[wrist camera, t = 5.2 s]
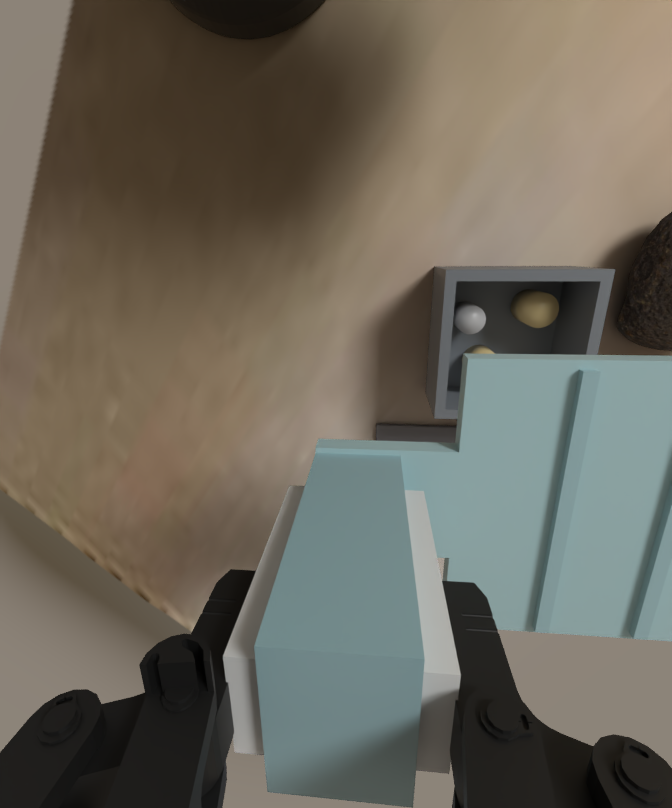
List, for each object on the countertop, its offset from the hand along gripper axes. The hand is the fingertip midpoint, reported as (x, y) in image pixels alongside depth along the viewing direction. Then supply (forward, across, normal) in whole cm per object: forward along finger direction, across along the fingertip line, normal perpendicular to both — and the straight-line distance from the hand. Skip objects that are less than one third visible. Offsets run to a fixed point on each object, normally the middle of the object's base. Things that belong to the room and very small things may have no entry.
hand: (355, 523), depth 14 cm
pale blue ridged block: (+2, +7, 0) cm, 7 cm away
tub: (+22, +10, +3) cm, 24 cm away
